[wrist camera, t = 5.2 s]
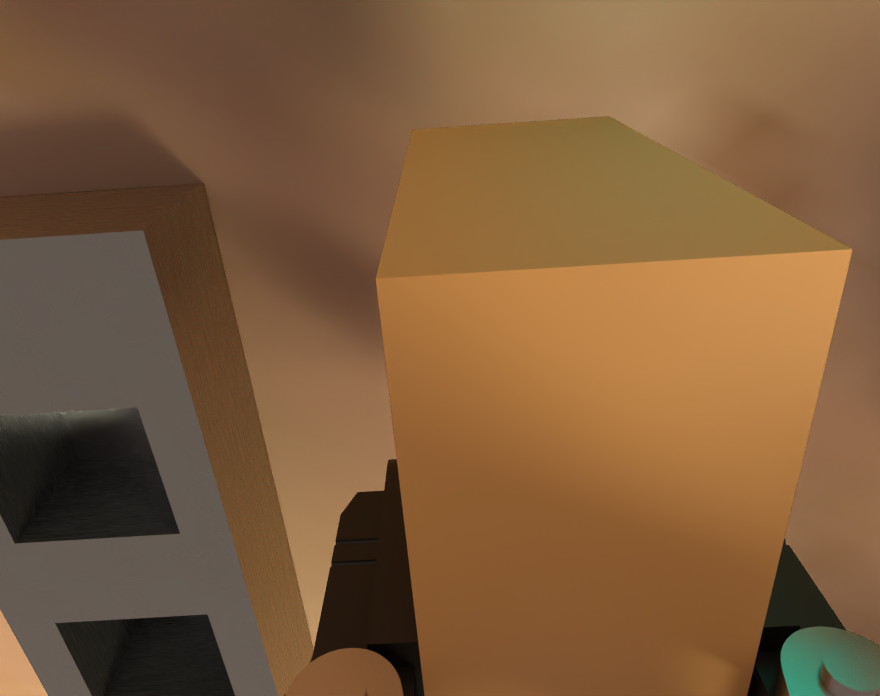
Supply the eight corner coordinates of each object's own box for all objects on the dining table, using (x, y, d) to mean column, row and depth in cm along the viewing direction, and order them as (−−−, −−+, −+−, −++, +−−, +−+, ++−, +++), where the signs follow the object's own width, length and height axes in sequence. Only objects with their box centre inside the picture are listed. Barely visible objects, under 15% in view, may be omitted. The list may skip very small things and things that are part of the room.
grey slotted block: (204, 183, 19) (143, 230, 15) (318, 669, 29) (300, 774, 25) (-66, 202, 19) (-199, 252, 15) (143, 679, 29) (98, 785, 25)
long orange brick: (608, 116, 11) (851, 249, 5) (585, 569, 16) (687, 949, 10) (412, 129, 11) (375, 278, 5) (448, 576, 16) (455, 956, 10)
